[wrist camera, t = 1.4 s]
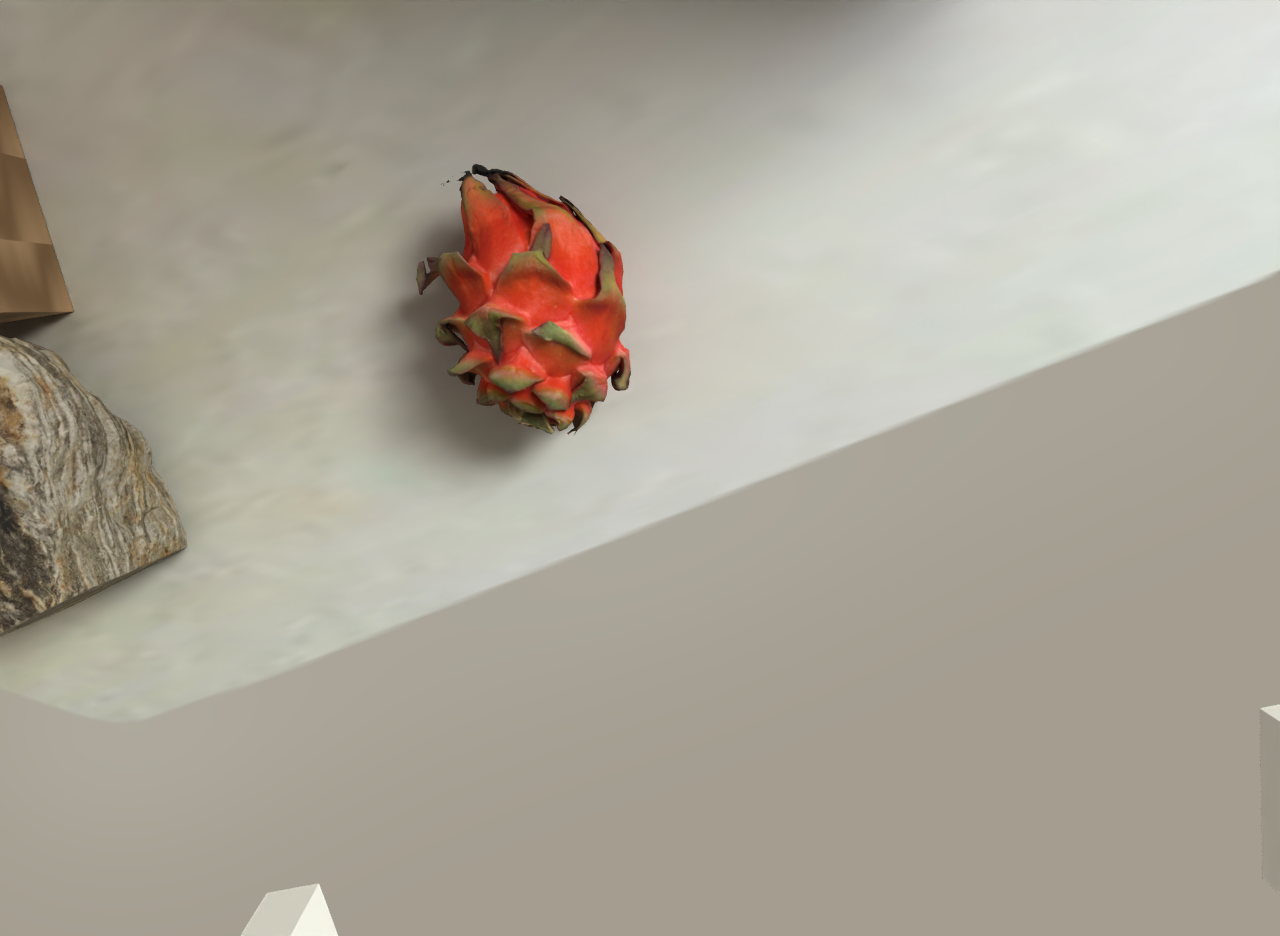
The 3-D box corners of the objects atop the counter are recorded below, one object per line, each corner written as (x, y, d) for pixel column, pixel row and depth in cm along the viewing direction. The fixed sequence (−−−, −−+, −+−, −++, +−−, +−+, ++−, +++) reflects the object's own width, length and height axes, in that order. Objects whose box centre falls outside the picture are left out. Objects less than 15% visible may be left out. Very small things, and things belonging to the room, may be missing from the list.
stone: (-211, 382, 32) (-262, 374, 25) (62, 319, 38) (86, 298, 31) (-45, 640, 36) (-47, 699, 29) (177, 546, 42) (222, 574, 35)
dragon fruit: (574, 435, 38) (502, 211, 37) (706, 393, 32) (625, 130, 32) (444, 476, 31) (353, 204, 30) (581, 432, 26) (476, 100, 25)
